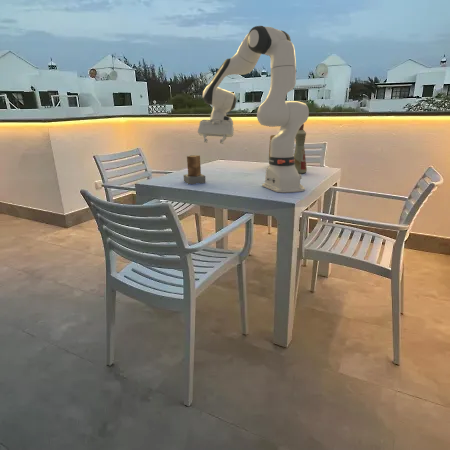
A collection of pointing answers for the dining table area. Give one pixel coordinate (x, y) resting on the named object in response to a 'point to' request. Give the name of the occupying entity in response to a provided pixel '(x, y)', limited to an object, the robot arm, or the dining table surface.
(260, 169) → the dining table surface
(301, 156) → the bottle
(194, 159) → the walnut block
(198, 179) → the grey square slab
